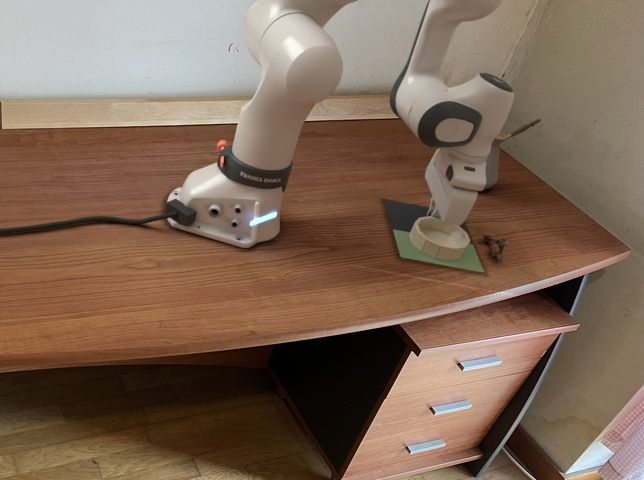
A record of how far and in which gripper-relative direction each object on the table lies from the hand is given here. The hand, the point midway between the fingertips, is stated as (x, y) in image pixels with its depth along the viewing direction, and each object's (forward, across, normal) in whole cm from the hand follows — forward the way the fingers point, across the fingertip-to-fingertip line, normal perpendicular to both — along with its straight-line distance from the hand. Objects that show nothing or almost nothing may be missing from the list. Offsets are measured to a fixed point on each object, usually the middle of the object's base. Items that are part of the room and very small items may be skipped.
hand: (431, 220), depth 149 cm
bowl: (+1, +7, 0) cm, 7 cm away
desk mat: (+2, +3, 0) cm, 4 cm away
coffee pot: (+2, -27, +19) cm, 33 cm away
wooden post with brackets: (+2, +5, +12) cm, 14 cm away
